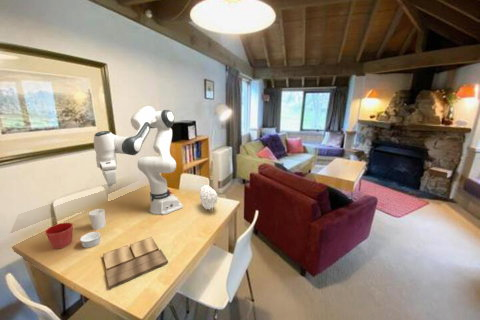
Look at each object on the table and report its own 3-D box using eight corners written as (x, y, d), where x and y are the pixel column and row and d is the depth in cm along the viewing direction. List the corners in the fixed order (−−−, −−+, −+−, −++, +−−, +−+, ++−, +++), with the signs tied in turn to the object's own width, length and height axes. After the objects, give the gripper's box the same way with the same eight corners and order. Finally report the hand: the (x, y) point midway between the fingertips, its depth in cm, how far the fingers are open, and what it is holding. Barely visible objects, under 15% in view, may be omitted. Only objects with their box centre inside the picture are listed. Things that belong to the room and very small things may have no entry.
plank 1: (127, 247, 109) (127, 244, 108) (133, 260, 100) (133, 258, 99) (103, 256, 102) (102, 253, 102) (106, 271, 93) (106, 268, 93)
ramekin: (81, 242, 112) (79, 235, 111) (100, 236, 118) (99, 229, 117) (81, 251, 106) (80, 243, 105) (102, 244, 111) (101, 237, 110)
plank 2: (151, 239, 116) (151, 236, 116) (158, 250, 107) (158, 248, 107) (130, 246, 109) (129, 244, 109) (135, 259, 100) (135, 257, 100)
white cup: (99, 231, 122) (96, 215, 120) (87, 229, 124) (85, 214, 121) (109, 224, 130) (107, 209, 127) (99, 222, 131) (96, 208, 129)
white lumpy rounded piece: (220, 212, 147) (220, 190, 143) (206, 216, 142) (206, 193, 137) (210, 202, 162) (210, 182, 158) (197, 206, 156) (196, 184, 152)
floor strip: (160, 250, 107) (160, 248, 107) (168, 263, 99) (167, 260, 99) (105, 272, 92) (105, 269, 92) (109, 289, 84) (109, 286, 84)
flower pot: (59, 238, 115) (55, 222, 112) (80, 237, 116) (77, 222, 113) (43, 251, 105) (39, 234, 102) (66, 250, 106) (63, 233, 103)
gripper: (97, 159, 115) (100, 182, 118) (102, 168, 100) (106, 194, 103) (110, 157, 119) (113, 180, 122) (117, 166, 103) (120, 191, 107)
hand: (110, 187), depth 112 cm, fingers closed
